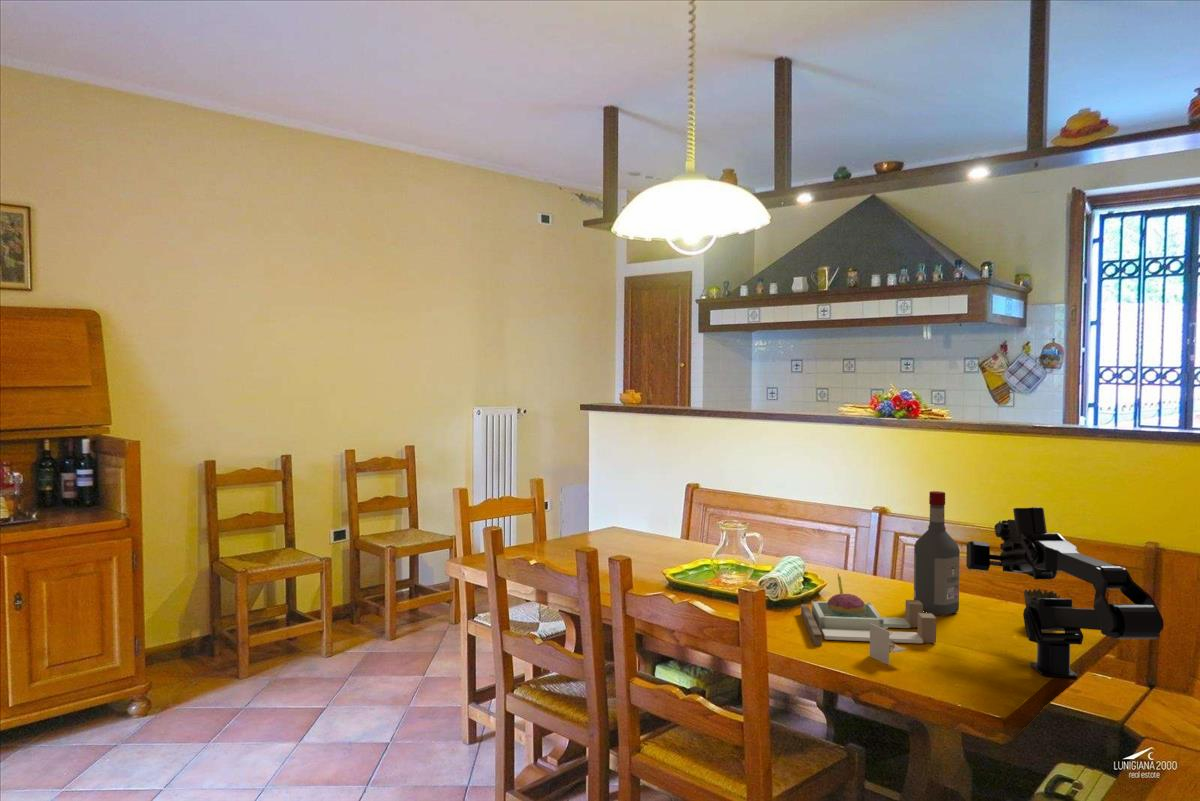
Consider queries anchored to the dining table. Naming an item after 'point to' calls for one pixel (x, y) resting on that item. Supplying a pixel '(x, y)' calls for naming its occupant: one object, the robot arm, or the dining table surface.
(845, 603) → the cupcake
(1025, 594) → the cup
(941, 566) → the liquor
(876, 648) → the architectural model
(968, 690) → the dining table surface
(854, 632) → the cream lane
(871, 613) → the tray
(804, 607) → the walnut back rail
